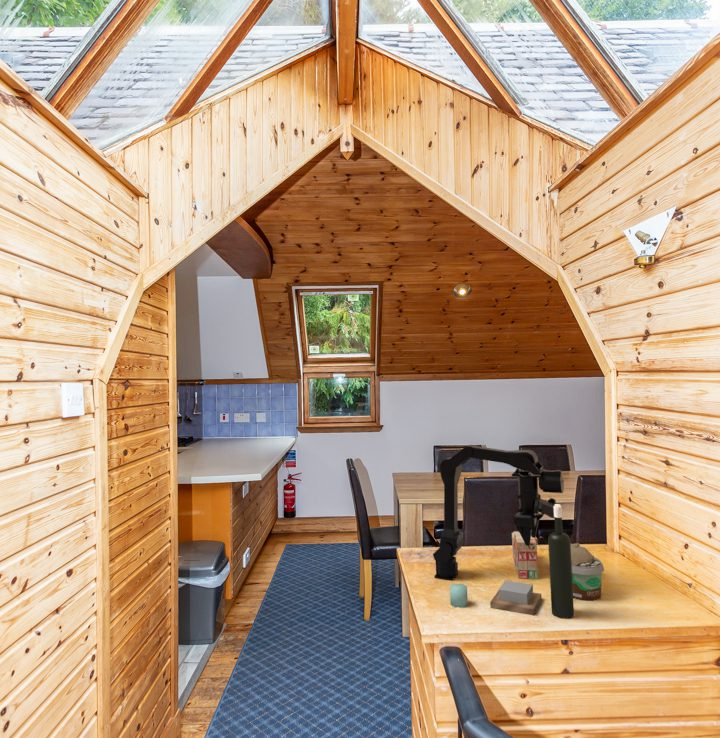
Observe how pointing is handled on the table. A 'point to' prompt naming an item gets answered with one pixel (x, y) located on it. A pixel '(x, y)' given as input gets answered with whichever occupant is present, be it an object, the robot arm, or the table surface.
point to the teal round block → (458, 595)
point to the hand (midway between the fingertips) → (530, 541)
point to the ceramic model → (580, 554)
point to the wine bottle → (560, 569)
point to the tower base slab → (517, 604)
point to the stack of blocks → (525, 557)
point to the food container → (587, 580)
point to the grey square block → (516, 592)
